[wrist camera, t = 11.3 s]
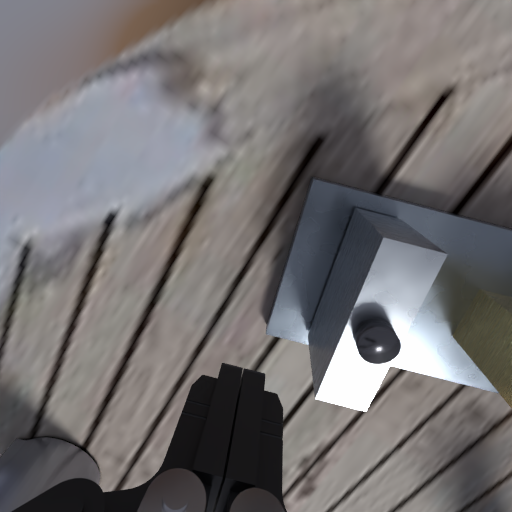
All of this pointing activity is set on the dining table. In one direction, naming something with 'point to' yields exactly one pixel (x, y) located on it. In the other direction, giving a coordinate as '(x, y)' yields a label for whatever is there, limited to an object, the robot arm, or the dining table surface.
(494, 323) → the block
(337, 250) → the vise
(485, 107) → the dining table surface
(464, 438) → the dining table surface
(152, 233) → the dining table surface
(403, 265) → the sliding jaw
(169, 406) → the dining table surface
